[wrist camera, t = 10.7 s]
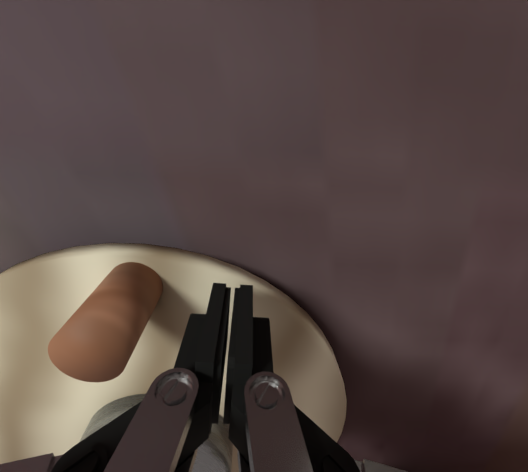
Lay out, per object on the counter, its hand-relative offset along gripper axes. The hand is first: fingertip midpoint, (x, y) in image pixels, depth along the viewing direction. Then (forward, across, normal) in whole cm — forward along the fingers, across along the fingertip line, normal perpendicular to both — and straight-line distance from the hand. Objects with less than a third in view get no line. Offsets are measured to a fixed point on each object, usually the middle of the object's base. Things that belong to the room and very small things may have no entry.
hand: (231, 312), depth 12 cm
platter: (+2, +4, +10) cm, 11 cm away
